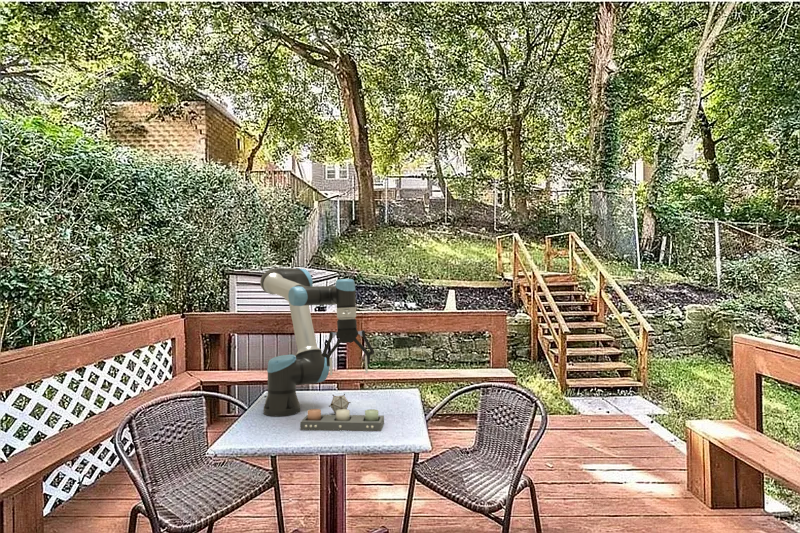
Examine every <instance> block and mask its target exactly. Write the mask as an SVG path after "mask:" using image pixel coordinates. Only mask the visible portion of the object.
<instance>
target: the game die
mask: <svg viewBox="0 0 800 533" xmlns="http://www.w3.org/2000/svg"><path fill="white" fill-rule="evenodd" d="M332 397H333V398H332V400H331V403H330V405H328V407H329V408H331V409H332V411H333V412H334V414H333V415H336V410H339V409H348V407H349V405H350V404H351V403H352V402H351V401H348V399H347V398H346V393H343V395H334V394H332Z"/></svg>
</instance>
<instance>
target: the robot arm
mask: <svg viewBox="0 0 800 533" xmlns="http://www.w3.org/2000/svg"><path fill="white" fill-rule="evenodd" d="M259 281H260V283H259V284H260V287H261V289H262V291H264V292H265V293H267V294H269V295H278V296H280V297H282V298H284V300H285V301H287V302H288V305H289V309H290V310H289V311H290V316H291V320H292V321H291V322H292V326H293V327H292V328H293V332H294V337H295V344H296V348H297V352H296V354H285V355H284V354H283V355H278V356H274V357H272V358H270V359H269V360H268V362H267V369H266V372H267V396H266V399H265V402H264V405H263V415H266V416H268V417H269V416H270V417H286V416H292V415H297V414H298V413H300V412H301V404H300V401H299V398H298V395H297V386H301V385H311V384H317V383H323V382H324V381H326V380H327V378H328V377H329V376H333V358H332V357H331V356H332V355H333V353H335V351H336V350H337V348H338V347H339V346H340V344H341V343H342V344H348V343H349V344H352V343H355V344H356V345H357V346H358V347H359V349H361V351H363V353H364V354H365V355H364V367H365V369H364V370H365V374H368V373H369V372H368V365H370V364H371V356H372V355H374V354H375V350H374V349H373V347H372V345H371V343H370V342H369V339H368V338H367V336H366V331H365V330H364V329H363V330H358V327H357V326H358V325H357V319H356V317H357V305H356V304H357V301H356V299H357V298H356V297H357V296H356V290H357V289H356V283H355V280H354V279H352V278H342V279H341V278H340V279H337V280H336V281H335V285H317V286H313V284H314V282H313V277H312V275H311V273H310V272H309V271H308V270H307V269H305V268H300V267H294V268H293V267H292V268H287V267H286V268H285V267H284V268H279V267H275V268H271V269H269V270H266V271H265V272H264V273H263V274H262V276H261V278H260V280H259ZM321 305H322V306H323V305H324V306H325V305H326V306H333V305H336V317H337V318H336V319H337V321H336V326H337V327H336V328H337V331H336V332H332V331H330V332H329V335H328V336H329V337H328V340H327V342H326V344H325V347H324V348H323V350H322V349H321V348H320V347H318V345H317V344H318V343H317V339H316V335H315V329H314V325H313V320H312V315H311V309H310V306H321ZM358 336H360V337H362V339H363V341H364V342H365V344H366V346H367V348H368V350H369V351H368V350H367V349H366V347H364V345H362V343H361V342H360V341H359V340H358V339H357V337H358ZM335 337H337V338H338V340H337V342H336V343H335V344H334V346H332V348H331V349H330V351H329V352H328V349H329V347H330V345H331V342H332V340H333V339H334V338H335ZM327 352H328V353H327ZM328 375H329V376H328Z"/></svg>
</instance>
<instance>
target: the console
mask: <svg viewBox="0 0 800 533" xmlns="http://www.w3.org/2000/svg"><path fill="white" fill-rule="evenodd" d="M299 422H300V423H299V429H300V431H335V432H336V431H337V432H338V431H339V432H340V430H341V431H342V430H347V431H348V430H349V432H350V431H351V432H355V431H356V432H381V431H382V429H383V427H384V424H385V415H384V414H383V415H379V414H378V421H365V414H364V415H363V414H350V421H336V414H335V415H334V414H321V420H308V414H306V416H305V417H304V418H303V419H302V420H301V421H299ZM342 432H343V431H342Z"/></svg>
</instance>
